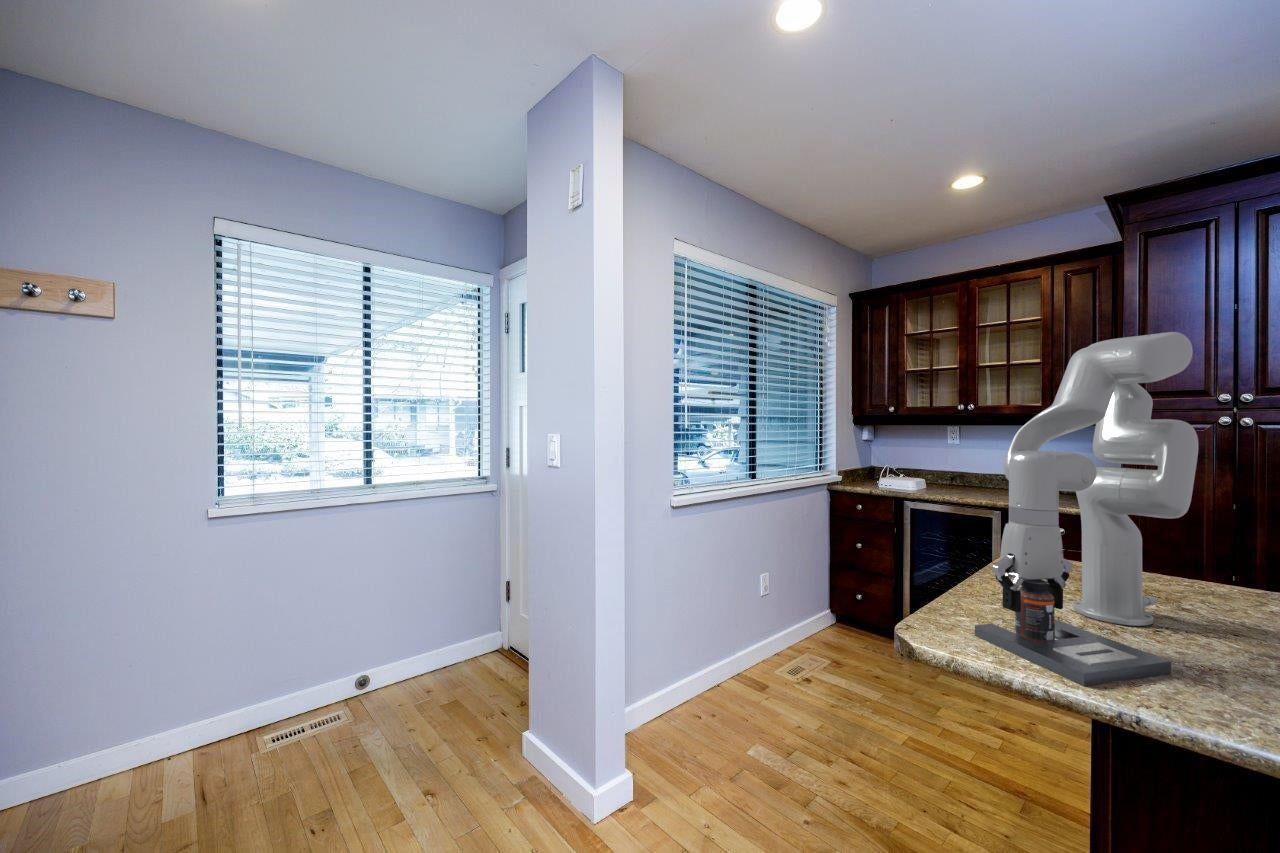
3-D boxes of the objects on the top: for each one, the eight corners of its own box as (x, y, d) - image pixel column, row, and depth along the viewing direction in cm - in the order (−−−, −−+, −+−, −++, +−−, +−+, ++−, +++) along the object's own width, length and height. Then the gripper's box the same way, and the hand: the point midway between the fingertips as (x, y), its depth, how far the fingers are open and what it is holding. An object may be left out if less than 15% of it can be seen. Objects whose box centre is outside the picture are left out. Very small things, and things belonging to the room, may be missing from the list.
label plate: (1049, 627, 103) (1049, 615, 103) (1171, 673, 84) (1170, 659, 84) (974, 635, 99) (974, 623, 99) (1084, 686, 80) (1083, 671, 80)
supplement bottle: (1062, 647, 93) (1061, 585, 93) (1025, 645, 95) (1025, 584, 95) (1043, 634, 99) (1043, 576, 99) (1009, 632, 100) (1008, 575, 100)
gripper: (1050, 513, 102) (1049, 599, 102) (978, 515, 99) (977, 604, 98) (1090, 520, 95) (1089, 612, 95) (1014, 522, 91) (1013, 618, 91)
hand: (1032, 608), depth 97 cm, fingers open, 9 cm apart
